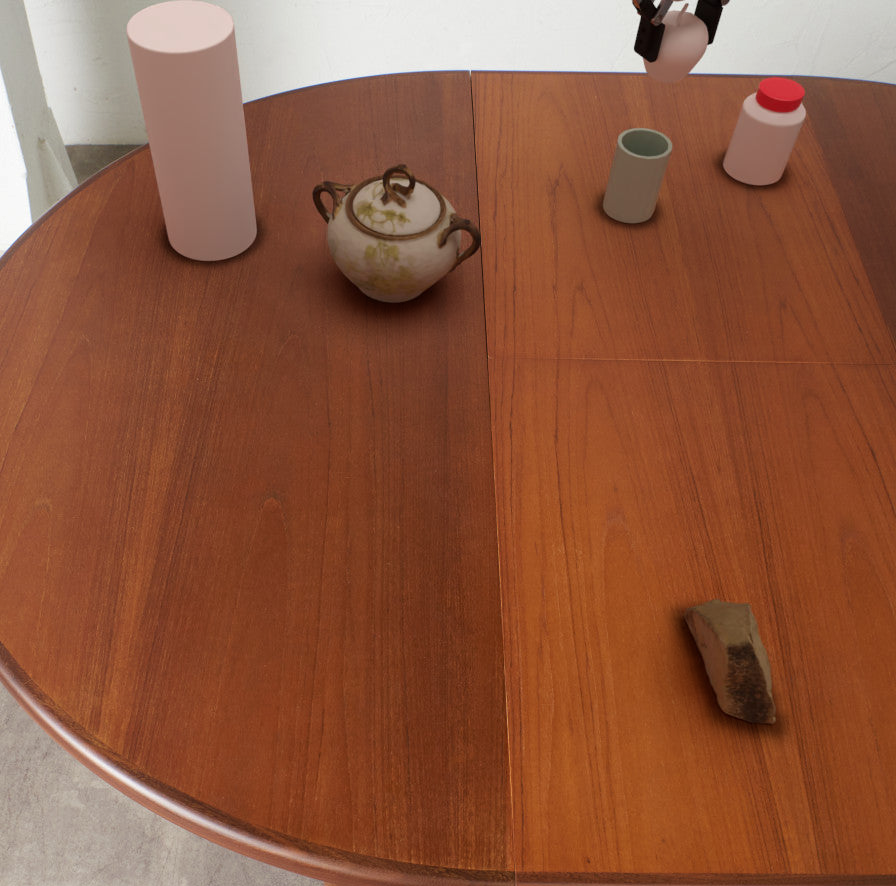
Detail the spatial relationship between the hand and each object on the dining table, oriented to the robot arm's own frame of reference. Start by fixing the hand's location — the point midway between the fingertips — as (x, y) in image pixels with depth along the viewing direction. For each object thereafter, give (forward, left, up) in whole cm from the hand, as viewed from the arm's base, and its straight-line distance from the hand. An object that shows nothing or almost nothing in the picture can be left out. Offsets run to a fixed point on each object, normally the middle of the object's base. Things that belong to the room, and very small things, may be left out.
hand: (673, 46), depth 102 cm
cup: (0, -1, -21) cm, 21 cm away
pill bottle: (-20, 0, -21) cm, 29 cm away
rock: (+33, +54, -21) cm, 67 cm away
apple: (0, 0, -3) cm, 3 cm away
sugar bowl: (+33, -3, -21) cm, 39 cm away
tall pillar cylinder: (+48, -21, -21) cm, 56 cm away
